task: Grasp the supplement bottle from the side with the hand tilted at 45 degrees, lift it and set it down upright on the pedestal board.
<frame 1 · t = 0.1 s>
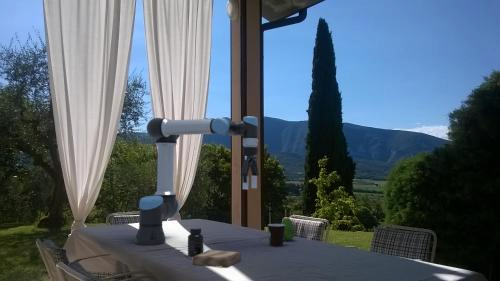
hand: (249, 188, 221), 28 cm above the table, tool pointing down, fingers open, 13 cm apart
pedestal: (217, 262, 179), on the table
supplement bottle: (195, 256, 191), on the table
coffee mug: (276, 245, 219), on the table
avocado: (287, 240, 232), on the table
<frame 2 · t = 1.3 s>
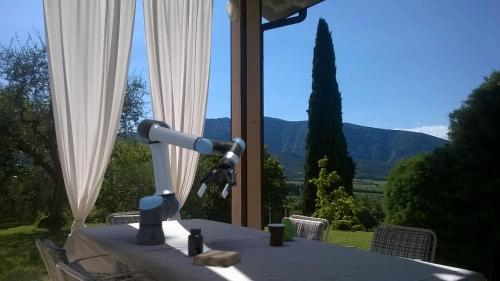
hand: (211, 195, 202), 26 cm above the table, tool tilted 45°, fingers open, 13 cm apart
nothing on the table moved.
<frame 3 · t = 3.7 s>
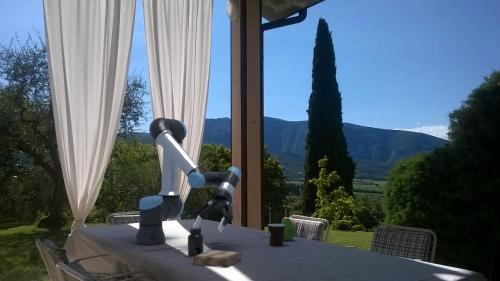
hand: (206, 229, 196), 11 cm above the table, tool tilted 45°, fingers open, 13 cm apart
nothing on the table moved.
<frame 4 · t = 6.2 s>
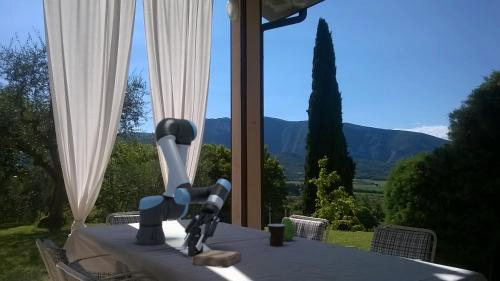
hand: (190, 247, 188), 4 cm above the table, tool tilted 45°, fingers closed on supplement bottle, 7 cm apart
supplement bottle: (195, 256, 191), on the table, touching gripper
everything else where it was.
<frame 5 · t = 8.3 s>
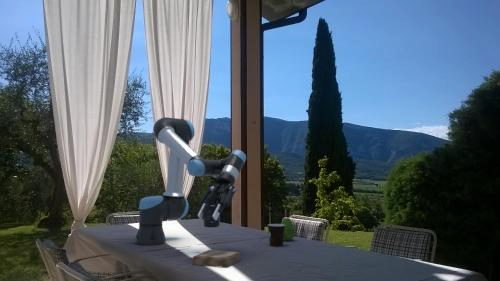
hand: (207, 217, 181), 18 cm above the table, tool tilted 45°, fingers closed on supplement bottle, 7 cm apart
supplement bottle: (211, 226, 184), point 14 cm above the table, touching gripper
everything else where it was.
when the fingers open (8 cm above the table, at t = 10.5 s): supplement bottle drops 1 cm, resting on pedestal.
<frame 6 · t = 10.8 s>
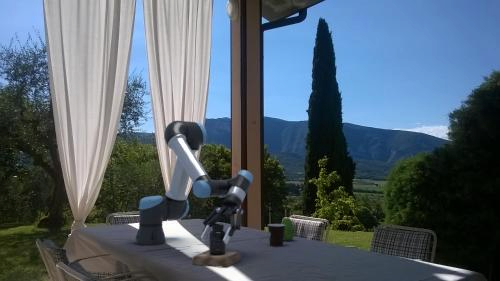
hand: (213, 240, 177), 9 cm above the table, tool tilted 45°, fingers open, 10 cm apart
supplement bottle: (217, 254, 179), point 3 cm above the table, touching pedestal
everything else where it was.
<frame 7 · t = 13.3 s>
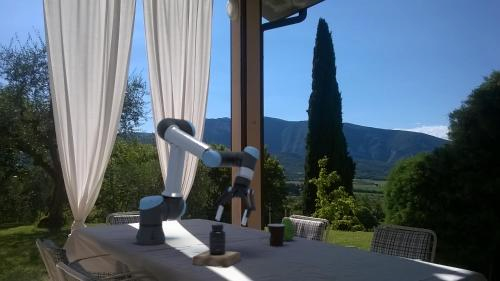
hand: (230, 222, 194), 14 cm above the table, tool tilted 25°, fingers open, 13 cm apart
nothing on the table moved.
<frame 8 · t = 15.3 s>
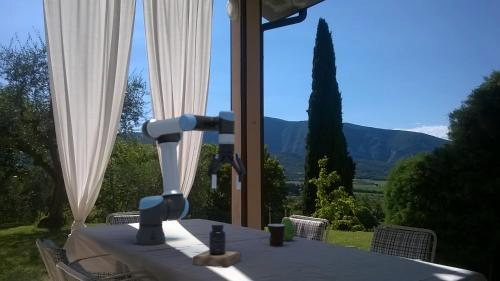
hand: (226, 188, 204), 29 cm above the table, tool pointing down, fingers open, 13 cm apart
nothing on the table moved.
at the end: supplement bottle inside the target area on the pedestal (0.1 cm from its centre), point 3.1 cm above the pedestal's base; supplement bottle tilted 0°; the gripper is holding nothing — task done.
